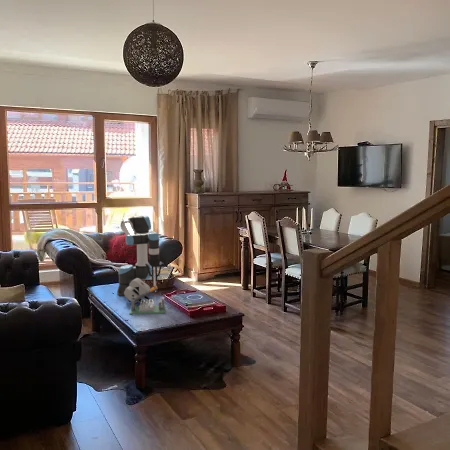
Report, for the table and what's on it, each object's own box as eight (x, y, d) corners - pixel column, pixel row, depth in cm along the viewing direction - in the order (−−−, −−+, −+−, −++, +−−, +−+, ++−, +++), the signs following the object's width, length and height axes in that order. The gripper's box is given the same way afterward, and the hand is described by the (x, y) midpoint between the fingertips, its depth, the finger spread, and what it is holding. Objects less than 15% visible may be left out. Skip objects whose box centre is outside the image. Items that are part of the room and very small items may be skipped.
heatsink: (140, 306, 347) (140, 299, 346) (154, 306, 348) (153, 299, 347) (139, 311, 335) (139, 304, 334) (153, 311, 336) (153, 304, 335)
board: (131, 307, 348) (131, 306, 348) (164, 306, 351) (164, 304, 351) (129, 314, 332) (129, 313, 332) (164, 313, 335) (164, 311, 335)
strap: (132, 301, 342) (131, 298, 342) (157, 287, 343) (156, 285, 343) (132, 303, 336) (130, 301, 336) (157, 289, 337) (155, 287, 337)
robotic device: (140, 314, 354) (154, 295, 350) (118, 297, 356) (132, 278, 352) (145, 310, 365) (159, 291, 360) (124, 294, 366) (137, 274, 362)
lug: (158, 307, 345) (158, 297, 344) (164, 307, 346) (164, 296, 345) (158, 309, 339) (158, 299, 338) (164, 309, 340) (164, 299, 339)
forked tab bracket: (131, 308, 343) (131, 297, 342) (135, 307, 344) (134, 297, 342) (131, 310, 337) (130, 300, 336) (134, 310, 337) (134, 300, 336)
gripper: (144, 255, 332) (145, 287, 335) (163, 254, 333) (163, 286, 337) (145, 253, 339) (146, 284, 342) (163, 252, 341) (163, 283, 344)
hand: (154, 285), depth 339 cm, fingers closed
